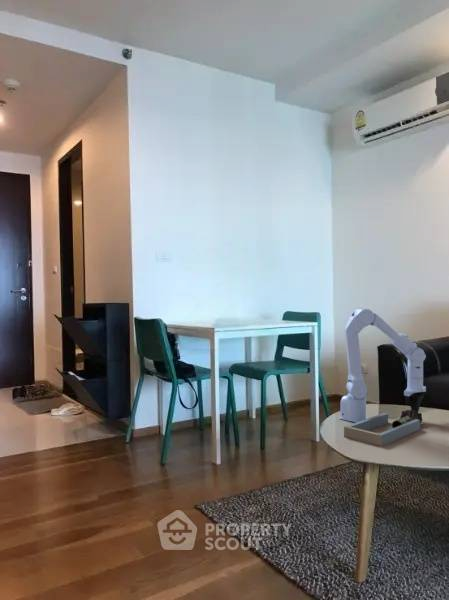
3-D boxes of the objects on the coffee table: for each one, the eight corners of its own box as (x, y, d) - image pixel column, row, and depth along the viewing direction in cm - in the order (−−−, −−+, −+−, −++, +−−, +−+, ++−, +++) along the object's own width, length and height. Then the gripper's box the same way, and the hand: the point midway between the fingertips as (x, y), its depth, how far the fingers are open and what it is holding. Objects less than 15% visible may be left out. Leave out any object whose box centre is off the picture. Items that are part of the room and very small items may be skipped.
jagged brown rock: (404, 434, 168) (404, 418, 168) (386, 430, 173) (386, 415, 173) (425, 424, 180) (425, 409, 180) (408, 421, 185) (408, 406, 185)
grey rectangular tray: (344, 436, 164) (344, 426, 164) (384, 421, 183) (384, 412, 183) (380, 446, 154) (380, 435, 154) (419, 429, 173) (419, 420, 173)
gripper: (416, 381, 177) (416, 416, 178) (433, 376, 187) (433, 410, 187) (398, 378, 183) (398, 413, 183) (416, 374, 192) (415, 407, 193)
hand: (415, 411), depth 185 cm, fingers closed
